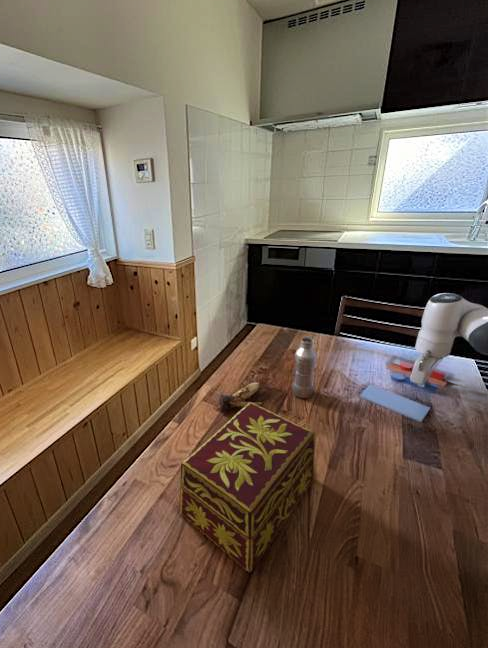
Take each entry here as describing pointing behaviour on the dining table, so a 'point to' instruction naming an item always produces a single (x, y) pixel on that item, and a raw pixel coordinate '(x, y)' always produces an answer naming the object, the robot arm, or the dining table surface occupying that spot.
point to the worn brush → (238, 398)
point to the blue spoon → (406, 379)
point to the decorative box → (247, 481)
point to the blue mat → (395, 403)
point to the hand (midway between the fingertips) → (422, 383)
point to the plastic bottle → (304, 368)
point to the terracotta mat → (397, 369)
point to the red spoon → (435, 374)
